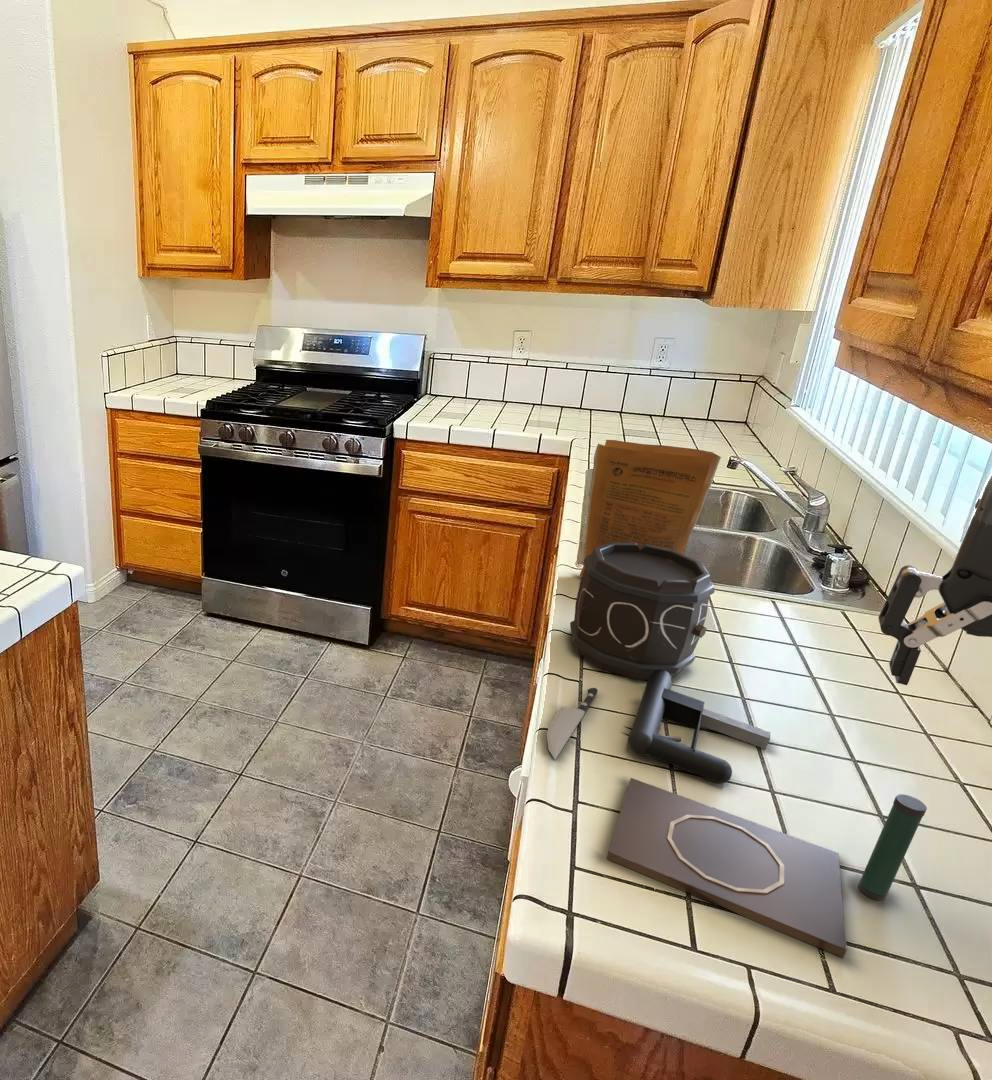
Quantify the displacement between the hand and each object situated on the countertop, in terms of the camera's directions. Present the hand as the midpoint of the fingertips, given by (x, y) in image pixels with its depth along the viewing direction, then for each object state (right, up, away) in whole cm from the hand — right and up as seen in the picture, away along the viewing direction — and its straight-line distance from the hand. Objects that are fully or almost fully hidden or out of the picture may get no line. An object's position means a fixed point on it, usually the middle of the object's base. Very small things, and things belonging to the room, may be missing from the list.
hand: (961, 696), depth 66 cm
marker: (-1, -21, +9) cm, 23 cm away
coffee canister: (-5, -4, +51) cm, 51 cm away
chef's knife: (-22, -10, +33) cm, 41 cm away
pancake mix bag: (+5, +4, +74) cm, 74 cm away
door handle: (-6, -12, +32) cm, 34 cm away
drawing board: (-14, -19, +12) cm, 26 cm away
